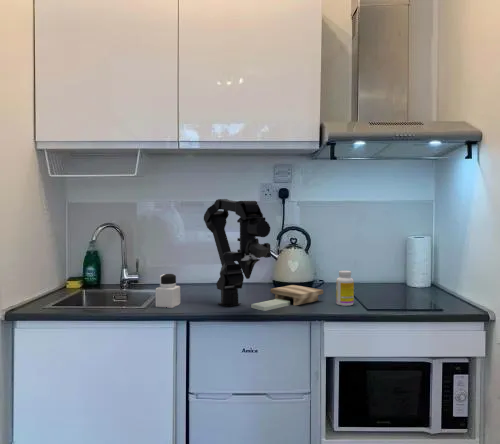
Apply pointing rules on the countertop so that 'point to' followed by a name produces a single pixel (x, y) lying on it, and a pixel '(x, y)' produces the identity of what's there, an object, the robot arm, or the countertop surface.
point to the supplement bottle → (345, 289)
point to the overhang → (297, 294)
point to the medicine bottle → (167, 292)
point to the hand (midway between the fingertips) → (247, 278)
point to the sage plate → (270, 304)
